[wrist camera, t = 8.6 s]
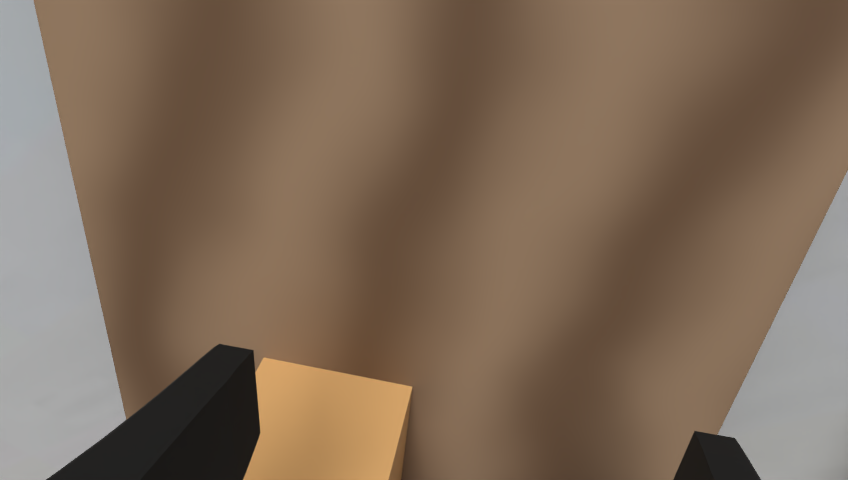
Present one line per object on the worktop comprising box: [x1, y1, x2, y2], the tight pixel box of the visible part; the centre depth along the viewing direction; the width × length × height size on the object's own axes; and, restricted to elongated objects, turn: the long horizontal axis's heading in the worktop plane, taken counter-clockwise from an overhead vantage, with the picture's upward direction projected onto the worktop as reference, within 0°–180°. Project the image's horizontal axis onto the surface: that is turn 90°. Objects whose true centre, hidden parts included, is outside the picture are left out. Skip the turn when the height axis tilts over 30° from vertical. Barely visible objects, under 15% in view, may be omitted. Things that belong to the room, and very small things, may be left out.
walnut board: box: [34, 0, 848, 480], centre depth 21 cm, size 20×25×2 cm
